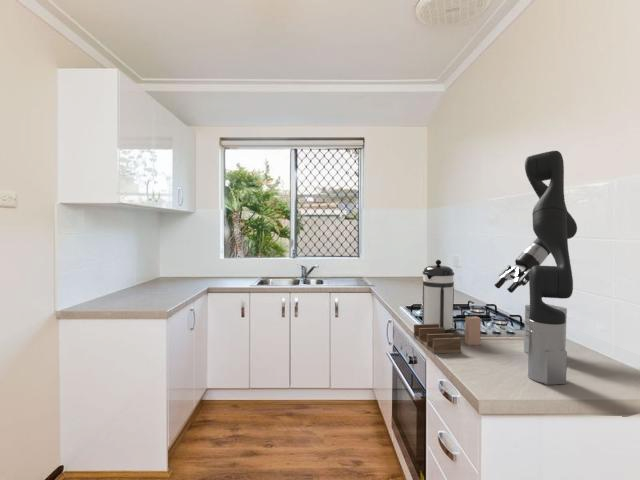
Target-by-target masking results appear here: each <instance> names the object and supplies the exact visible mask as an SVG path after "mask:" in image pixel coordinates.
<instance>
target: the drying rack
mask: <svg viewBox="0 0 640 480" xmlns="http://www.w3.org/2000/svg"><path fill="white" fill-rule="evenodd" d="M413 338H414V339H415V340H417V341H418V342H419V343H420V344H422V346H424V347H425V348H426V349H428V351H430V352H431V353H432V354H455V353H456V354H457V353H459V354H460V353H461V352H462V338H461V337H455V334H454V333H452V332H451V333H450V332H449V333H446V330H445V328H444V327H442V328H439V324H422V323H421V324H420V323H418V324H413Z"/></svg>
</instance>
